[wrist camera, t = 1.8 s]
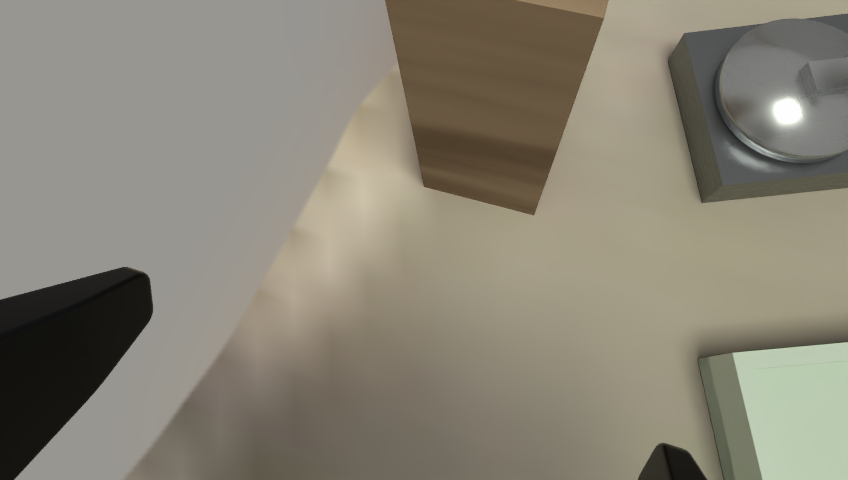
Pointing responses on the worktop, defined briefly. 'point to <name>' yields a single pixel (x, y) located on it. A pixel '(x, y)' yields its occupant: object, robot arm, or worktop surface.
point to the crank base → (717, 145)
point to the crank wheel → (787, 90)
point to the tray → (780, 412)
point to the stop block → (492, 89)
